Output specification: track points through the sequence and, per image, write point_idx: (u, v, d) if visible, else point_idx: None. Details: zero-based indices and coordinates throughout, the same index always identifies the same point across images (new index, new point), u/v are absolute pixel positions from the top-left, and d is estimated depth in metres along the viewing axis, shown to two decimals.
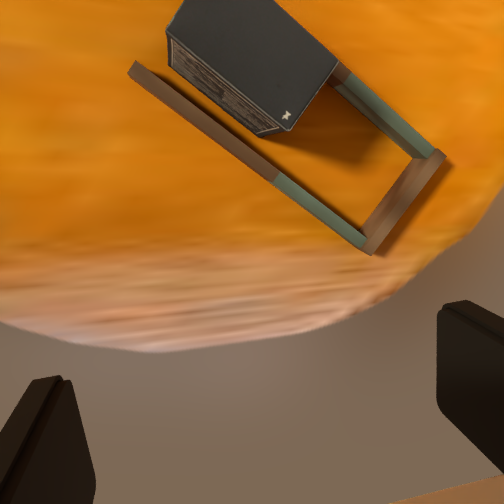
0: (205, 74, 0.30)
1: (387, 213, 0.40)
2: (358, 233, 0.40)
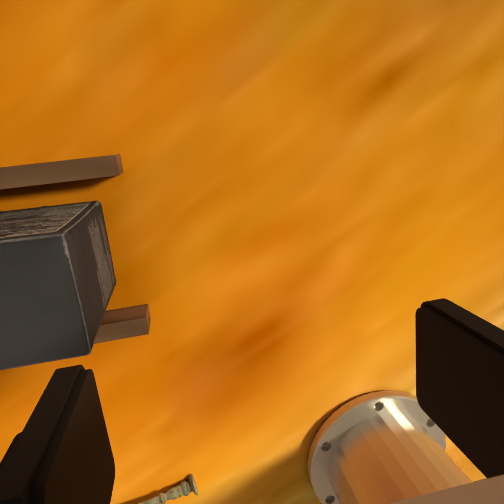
0: (0, 230, 0.20)
1: None
2: None
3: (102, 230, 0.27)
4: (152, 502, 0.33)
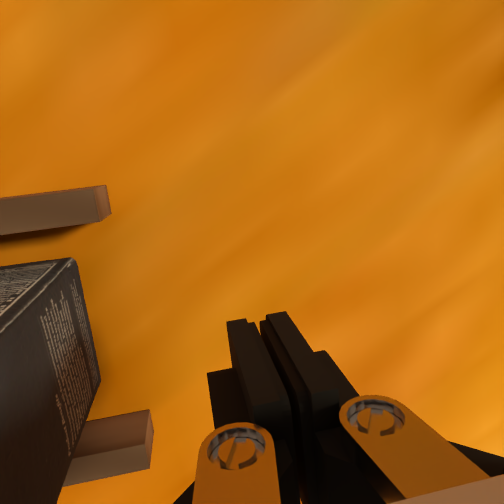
0: None
1: None
2: None
3: (76, 306, 0.17)
4: None
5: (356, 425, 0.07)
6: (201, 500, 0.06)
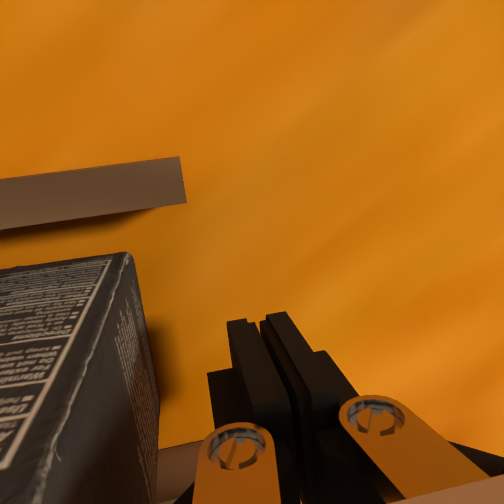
0: None
1: None
2: None
3: (138, 315, 0.13)
4: None
5: (356, 425, 0.07)
6: (201, 500, 0.06)
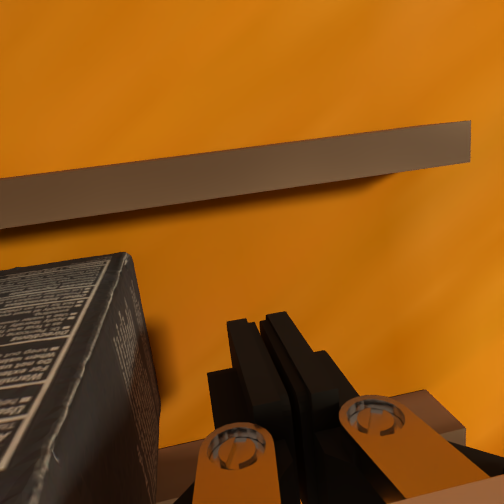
0: None
1: None
2: None
3: (137, 315, 0.13)
4: None
5: (356, 425, 0.07)
6: (201, 500, 0.06)
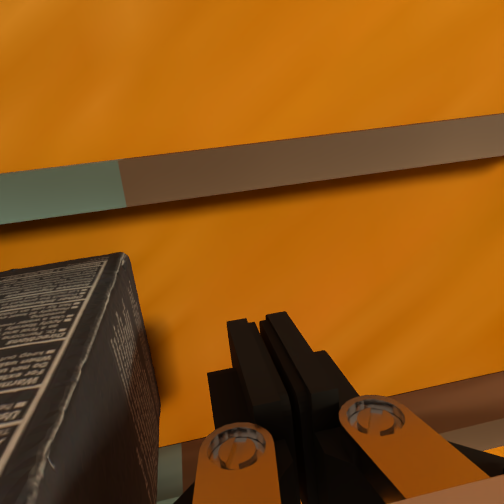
0: None
1: None
2: None
3: (135, 315, 0.13)
4: None
5: (356, 425, 0.07)
6: (202, 500, 0.06)
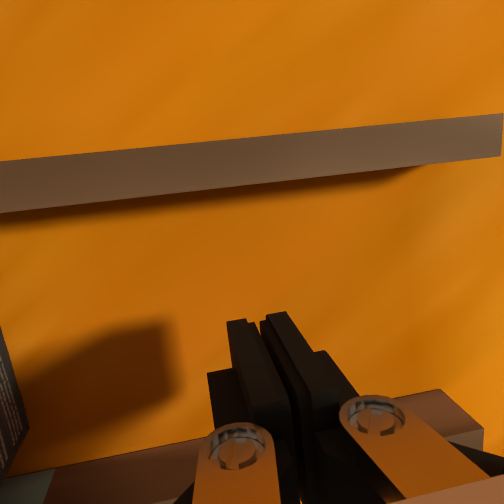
0: None
1: None
2: None
3: None
4: None
5: (356, 425, 0.07)
6: (201, 500, 0.06)
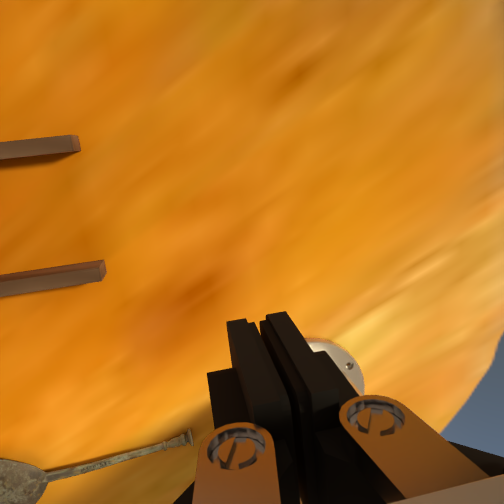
0: None
1: None
2: None
3: None
4: (156, 448, 0.41)
5: (356, 425, 0.07)
6: (201, 500, 0.06)
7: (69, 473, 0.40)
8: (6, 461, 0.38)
